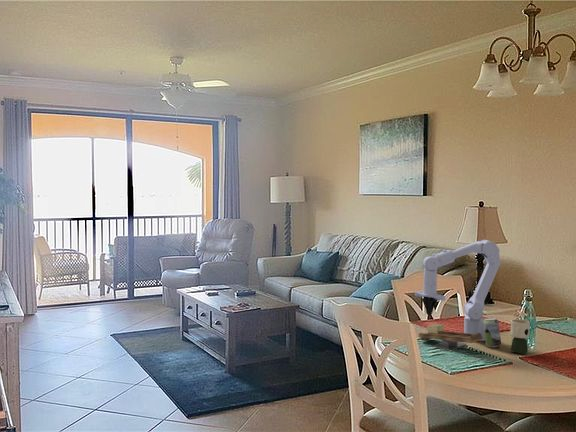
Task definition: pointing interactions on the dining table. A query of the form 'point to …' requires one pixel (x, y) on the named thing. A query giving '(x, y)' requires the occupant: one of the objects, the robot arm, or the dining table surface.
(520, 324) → the character mug
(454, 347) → the pivot stand
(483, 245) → the robot arm
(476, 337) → the beam
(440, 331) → the brass block
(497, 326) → the beverage can
